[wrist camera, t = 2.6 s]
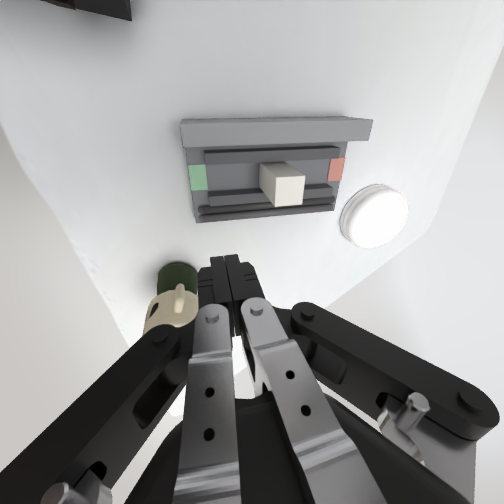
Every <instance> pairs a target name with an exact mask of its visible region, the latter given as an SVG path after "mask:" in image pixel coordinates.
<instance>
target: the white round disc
mask: <svg viewBox="0 0 504 504" xmlns="http://www.w3.org/2000/svg"><path fill="white" fill-rule="evenodd" d="M408 213H409V204H408V201H407V199H406V197H405V196H404V195H403V194H402V193H401V192H399V191H397V190H394V189H392V188H390V187H388V186H385V185H373V186H369V187H367V188H365V189H363V190H361V191H359V192H358V193H357V194H355V195H354V196H353V197H352V198H351V199H350V200H349V202H348V203H347V204H346V206H345V208H344V210H343V212H342V215H341V219H340V227H341V230H342V233H343V234H344V236H345V237H346V238H347V239H349V241H351V242H352V243H353V244H354V245H355V246H357V247H359V248H363V249H372V248H376V247H379V246H381V245H384V244H385V243H387V242H389V241H390V240H391V239H393V238H394V237H395V236H396V235H397V234H398V233H399V232H400V230H401V229H402V227H403V226H404V224H405V222H406V220H407V217H408Z"/></svg>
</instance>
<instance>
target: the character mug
mask: <svg viewBox="0 0 504 504" xmlns="http://www.w3.org/2000/svg"><path fill="white" fill-rule="evenodd" d="M197 289H198V277H197V271H196V270H194V269H193V268H192V267H190V266H187V265H184V264H169V265H167V266H165V267H163V268H162V269H161V271H160V272H159V273H158V283H157V296H156V297H155V298H154V299H153V300H152V301H151V302H150V304H149V306H148V311H147V314H146V319H145V325H144V330H143V335H144V334H145V333H146V332H147V331H149V330H150V329H151V328H153V327H155V326H157V325H161V324H170V325H173V326H175V327H176V328H179V327H181V326H184V325H186V324H188V323H189V322H191V321H192V320H193V319H194V318H195V317H196V314H197V312H198V296H197ZM143 335H142V336H143Z"/></svg>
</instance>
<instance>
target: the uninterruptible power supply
mask: <svg viewBox="0 0 504 504" xmlns="http://www.w3.org/2000/svg"><path fill="white" fill-rule="evenodd" d="M41 1H46V2H49V3H51V4H54V5H57V6H61V7H65V8H70V9H74V10H76V9H80V10H85V11H89V12H94V13H98V14H102V15H107V16H111V17H115V18H120V19H124V20H128V21H132V19H131V8H130V0H41Z"/></svg>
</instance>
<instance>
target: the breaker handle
mask: <svg viewBox="0 0 504 504" xmlns="http://www.w3.org/2000/svg"><path fill="white" fill-rule="evenodd" d="M304 184H305V175H304V174H302V173H301V172H299V171H298V170H296V169H295V168H293V167H292V166H290V165H289V164H287V163H286V162H284V161H280V162H260V166H259V187H260V188H261V189H262V191H263V192H264V193H265V195H266V196H267V197H268V198H269V200H270V201H271V202H272V204H273V205H274V206H275V207H278V206H290V205H302V201H303V192H304Z"/></svg>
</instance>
